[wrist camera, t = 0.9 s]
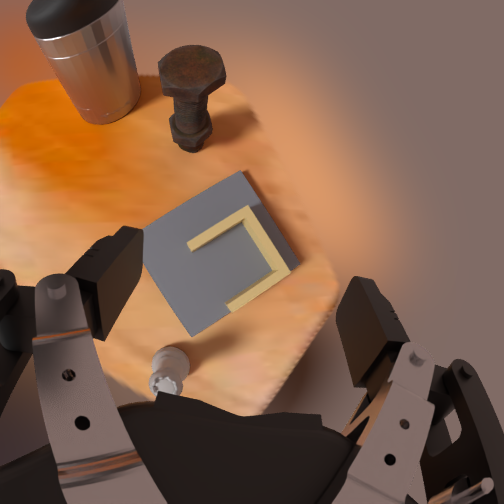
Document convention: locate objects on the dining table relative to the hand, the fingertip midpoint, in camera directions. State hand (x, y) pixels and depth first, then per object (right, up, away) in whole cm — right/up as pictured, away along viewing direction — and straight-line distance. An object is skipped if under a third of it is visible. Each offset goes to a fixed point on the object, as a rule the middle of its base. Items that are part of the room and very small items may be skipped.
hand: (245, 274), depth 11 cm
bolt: (-7, +14, +23) cm, 28 cm away
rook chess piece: (-9, -12, +21) cm, 25 cm away
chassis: (-4, +1, +22) cm, 23 cm away
